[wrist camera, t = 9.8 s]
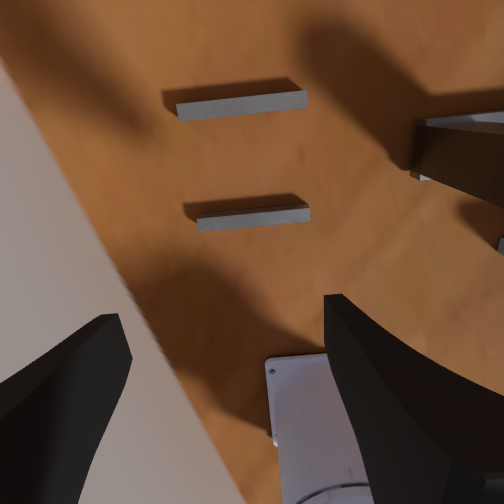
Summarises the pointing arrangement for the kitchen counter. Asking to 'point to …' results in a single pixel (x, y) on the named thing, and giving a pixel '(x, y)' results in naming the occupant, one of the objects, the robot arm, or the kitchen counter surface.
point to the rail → (243, 107)
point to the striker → (462, 153)
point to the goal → (501, 246)
